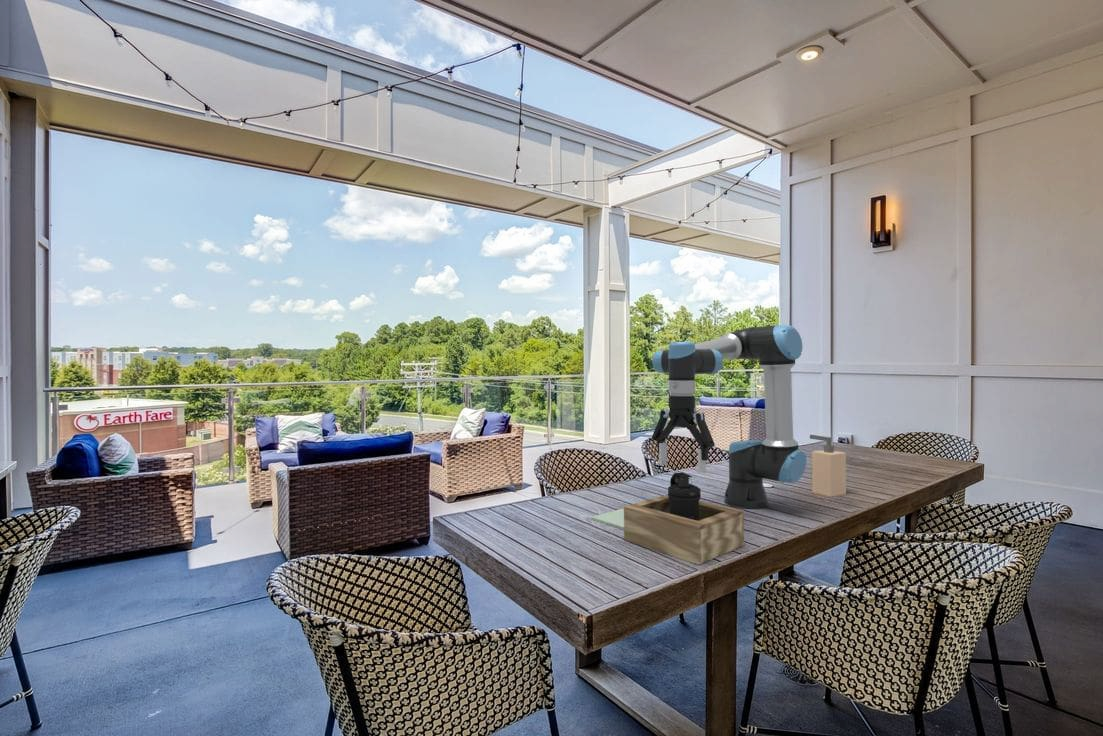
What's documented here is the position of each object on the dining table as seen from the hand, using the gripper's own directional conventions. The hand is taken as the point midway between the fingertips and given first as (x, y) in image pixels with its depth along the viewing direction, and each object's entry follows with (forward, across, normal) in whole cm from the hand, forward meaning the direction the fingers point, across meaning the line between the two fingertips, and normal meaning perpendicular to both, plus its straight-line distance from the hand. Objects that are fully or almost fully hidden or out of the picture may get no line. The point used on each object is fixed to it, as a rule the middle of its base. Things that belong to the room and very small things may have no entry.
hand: (681, 468), depth 156 cm
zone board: (+22, -26, +4) cm, 34 cm away
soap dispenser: (+21, +2, +90) cm, 93 cm away
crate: (+22, 0, 0) cm, 22 cm away
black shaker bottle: (+22, 0, 0) cm, 22 cm away
